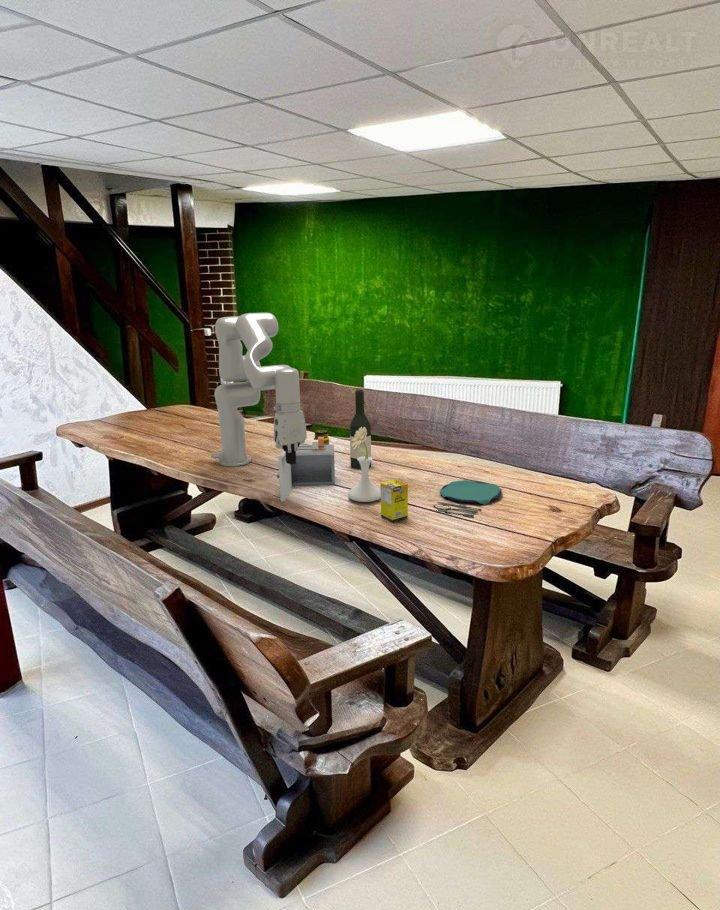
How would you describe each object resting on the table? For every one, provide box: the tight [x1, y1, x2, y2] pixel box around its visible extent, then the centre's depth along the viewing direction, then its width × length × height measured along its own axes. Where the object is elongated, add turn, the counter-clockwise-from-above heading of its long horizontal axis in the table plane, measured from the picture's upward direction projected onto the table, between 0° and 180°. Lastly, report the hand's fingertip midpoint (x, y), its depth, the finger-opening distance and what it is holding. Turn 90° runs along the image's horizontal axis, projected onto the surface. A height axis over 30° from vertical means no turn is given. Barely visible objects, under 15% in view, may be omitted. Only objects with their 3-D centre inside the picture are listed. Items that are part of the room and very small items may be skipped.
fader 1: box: [311, 439, 318, 449], centre depth 213 cm, size 2×2×3 cm
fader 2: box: [318, 437, 324, 446], centre depth 217 cm, size 2×2×3 cm
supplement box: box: [380, 478, 409, 522], centre depth 181 cm, size 6×6×11 cm
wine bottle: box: [349, 388, 372, 470], centre depth 230 cm, size 8×8×30 cm
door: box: [276, 450, 293, 502], centre depth 203 cm, size 16×2×14 cm, turn 176°
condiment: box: [313, 429, 330, 445], centre depth 242 cm, size 7×8×12 cm
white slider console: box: [291, 444, 336, 487], centre depth 216 cm, size 16×10×12 cm, turn 92°
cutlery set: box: [432, 479, 503, 518], centre depth 197 cm, size 20×30×2 cm, turn 149°
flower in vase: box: [347, 427, 381, 503], centre depth 194 cm, size 13×11×25 cm
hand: (291, 463), depth 196 cm, fingers closed
